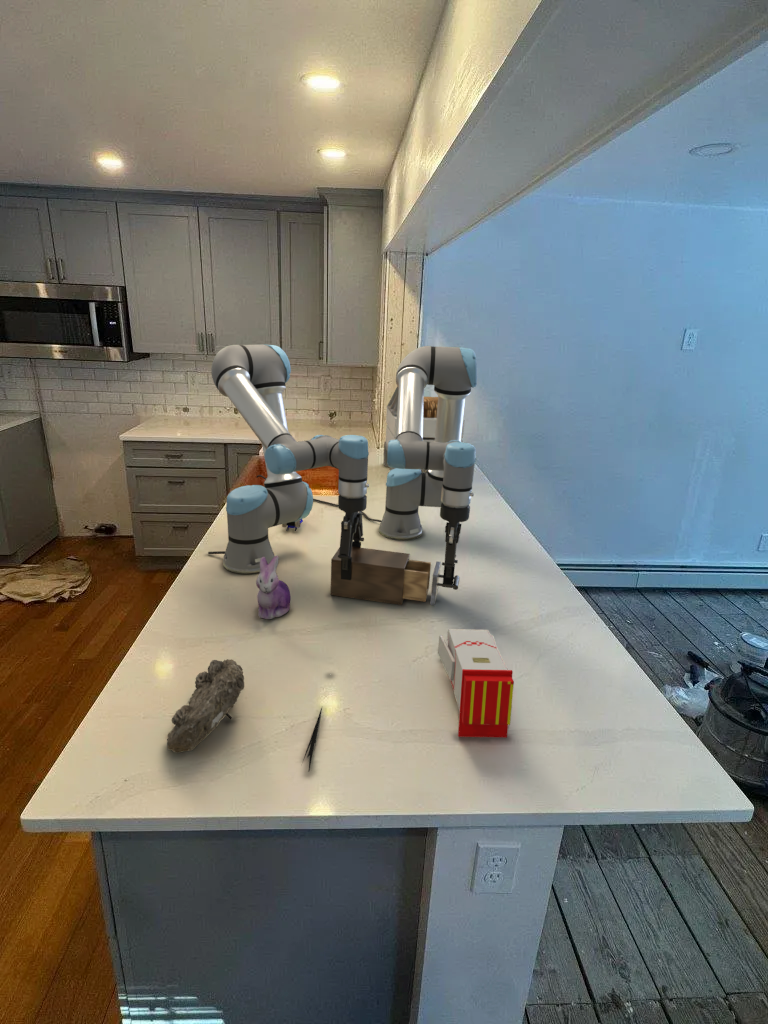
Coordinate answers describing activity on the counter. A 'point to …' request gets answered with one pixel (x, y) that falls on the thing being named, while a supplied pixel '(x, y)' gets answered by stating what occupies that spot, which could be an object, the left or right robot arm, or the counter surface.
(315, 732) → the feather
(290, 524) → the figurine character
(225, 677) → the fossil
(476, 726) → the toy
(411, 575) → the drawer
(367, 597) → the cabinet
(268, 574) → the figurine
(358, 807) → the counter surface
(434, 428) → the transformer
